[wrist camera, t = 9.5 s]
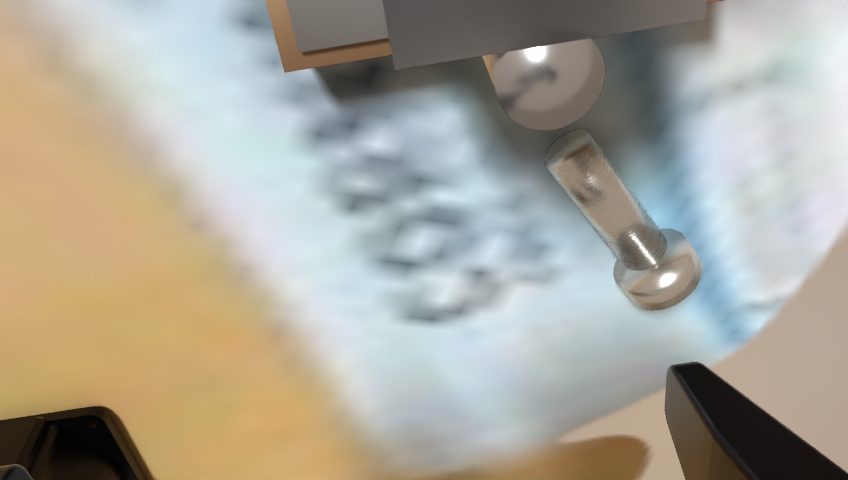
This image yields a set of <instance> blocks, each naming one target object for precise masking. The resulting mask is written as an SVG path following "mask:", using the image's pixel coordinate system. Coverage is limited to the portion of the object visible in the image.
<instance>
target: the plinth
mask: <svg viewBox="0 0 848 480" xmlns="http://www.w3.org/2000/svg"><path fill="white" fill-rule="evenodd" d="M716 1H723V0H707V3H710V2H716ZM266 4H267V8H268V12H269V15H270V19H271V23H272V27H273V30H274V34H275V38H276V42H277V45H278V49H279V53H280V57H281V60H282V64H283V68H284V72H291V71H297V70H303V69H309V68H315V67H321V66H327V65H333V64H340V63H346V62H352V61H358V60H364V59H370V58H376V57H382V56H388V55H392V53H391V48H390V42H389V36H388V30H387V25H386V19H385V13H384V7H383V2H382V0H266Z"/></svg>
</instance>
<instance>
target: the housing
mask: <svg viewBox="0 0 848 480" xmlns="http://www.w3.org/2000/svg"><path fill="white" fill-rule="evenodd" d="M382 2H383V7H384V13H385V19H386V25H387V30H388V36H389V42H390V48H391V53H392V59H393V65H394V70H399V69H405V68H411V67H417V66H424V65H430V64H436V63H442V62H448V61H454V60H460V59H467V58H473V57H479V56H482V57H483V60H484V62H485V65H486V68H487V70H488V73H489V76H490V78H491V81H492V84H493V86H494V89H495V91H496V94H497V97H498V99H499V102H500V104H501V106H502V108H503V110H504V111H505V112H506V114H507V115H508V116H509V117H510V118H511V119H512V120H514V121H515V122H516V123H518V124H520V125H522V126H524V127H526V128H530V129H533V130H545V131H546V130H555V129H559V128H562V127H565V126H568V125H570V124H572V123H574V122H575V121H577V120H579V119H580V118H581V117H583V116H584V115H585V114H586V113H587V112H588V111H589V110H590V109H591V108H592V107H593V105H594V104H595V102H596V101H597V99H598V98H599V95H600V93H601V91H602V88H603V85H604V80H605V63H604V59H603V56H602V53H601V51H600V49H599V48H598V46H597V45H596V43H595V42H594V41H593V40H592V38H596V37H602V36H608V35H614V34H620V33H626V32H633V31H639V30H645V29H651V28H657V27H663V26H670V25H676V24H682V23H688V22H694V21H700V20H706V8H707V0H382Z"/></svg>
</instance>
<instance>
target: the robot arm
mask: <svg viewBox="0 0 848 480" xmlns="http://www.w3.org/2000/svg"><path fill="white" fill-rule="evenodd" d="M665 414H666V419H667V424H668V427H669V430H670V433H671V436H672V439H673V442H674V445H675V448H676V452H677V454H678V458H679V460H680V464H681V467H682V470H683V473H684V476H685V479H686V480H848V473H847V472H846V471H844V470H843V469H842V468H840V467H839V466H838V465H836V464H835V463H834V462H832V461H831V460H830V459H828V458H827V457H826V456H824V455H823V454H822V453H820V452H819V451H818V450H816V449H815V448H814V447H812V446H811V445H810V444H808V443H807V442H806V441H805V440H803V439H802V438H801V437H799V436H798V435H796V434H795V433H794V432H793V431H791V430H790V429H789V428H787V427H786V426H785V425H783V424H782V423H781V422H779V421H778V420H776V419H775V418H774V417H772V416H771V415H770V414H769V413H767V412H766V411H765V410H763V409H762V408H761V407H759V406H758V405H757V404H755V403H754V402H753V401H751V400H750V399H749V398H747V397H746V396H745V395H743V394H742V393H741V392H739V391H738V390H737V389H735V388H734V387H733V386H731V385H730V384H729V383H727V382H726V381H725V380H723V379H722V378H721V377H719V376H718V375H717V374H715V373H714V372H713V371H711V370H710V369H709V368H708V367H706V366H705V365H703V364H701V363H699V362H690V363H683V364H677V365H672V366H670V367H669V369H668V371H667V379H666V395H665ZM94 420H95V421H94ZM0 480H146V479H145V477H144V476H143V474H142V472H141V470H140V469H139V467H138V465H137V463H136V462H135V460H134V458H133V456H132V455H131V453H130V451H129V449H128V448H127V446H126V444H125V442H124V441H123V439H122V437H121V435H120V434H119V432H118V430H117V428H116V427H115V425H114V423H113V421H112V420H111V418H110V416H109V414H108V413H107V412H106V411H105V410H103V409H101V408H98V407H86V408H80V409H73V410H67V411H60V412H54V413H47V414H41V415H34V416H28V417H21V418H15V419H8V420H1V421H0Z"/></svg>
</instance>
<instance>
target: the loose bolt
mask: <svg viewBox="0 0 848 480" xmlns="http://www.w3.org/2000/svg"><path fill="white" fill-rule="evenodd" d="M544 165H545V166H546V168H547V169H548V170H549V171H550V173H551V174H552V175H553V176H554V178H555V179H556V180H557V182H558V183H559V184H560V185H561V187H562V188H563V189H564V190H565V192H566V193H567V194H568V195H569V197H570V198H571V199H572V200H573V202H574V203H575V204H576V205H577V207H578V208H579V209H580V210H581V212H582V213H583V214H584V215H585V217H586V218H587V219H588V220H589V222H590V223H591V224H592V225H593V227H594V228H595V229H596V230H597V232H598V233H599V234H600V236H601V237H602V238H603V239H604V241H605V242H606V243H607V244H608V246H609V247H610V248H611V249H612V251H613V252H614V253H615V254H616V256H617V257H618V258H617V260H616V263H615V266H614V278H615V281H616V283H617V284H618V285H619V287H620V288H621V289H622V290H623V291H624V293H625V294H626V295H627V296H628V298H629V299H630V300H631V301H632V302H633V303H634V304H635V305H636V306H637V307H639V308H641V309H645V310H661V309H665V308H668V307H671V306H673V305H676V304H677V303H679V302H681V301H682V300H684V299H685V298H686V297H687V296H689V295H690V294H691V293H692V291H693V290H694V289H695V288H696V286H697V285H698V283H699V281H700V279H701V276H702V271H703V265H702V261H701V259H700V257H699V256H698V254H697V253H696V251H695V250H694V249H693V247H692V246H691V244H690V243H689V242H688V240H687V239H686V237H685V236H684V235H683V234H682V233H680V232H678V231H676V230H673V229H659V228H658V226H657V225H656V224H655V222H654V221H653V219H652V218H651V217H650V215H649V214H648V213H647V211H646V210H645V209H644V207H643V206H642V204H641V203H640V202H639V200H638V199H637V198H636V196H635V195H634V193H633V192H632V191H631V189H630V188H629V187H628V185H627V184H626V183H625V181H624V180H623V178H622V177H621V176H620V174H619V173H618V172H617V170H616V169H615V167H614V166H613V165H612V163H611V162H610V161H609V159H608V158H607V156H606V155H605V154H604V152H603V151H602V150H601V148H600V147H599V146H598V144H597V143H596V141H595V140H594V139H593V137H592V136H591V135H590V133H589V132H588V131H586V130H574V131H571V132H569V133H567V134H565V135H563V136H562V137H560V138H559V139H558V140H556V141H555V142H554V143H553V144H552V145H551V146H550V148H549V149H548V150H547V152H546V154H545V156H544Z"/></svg>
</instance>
